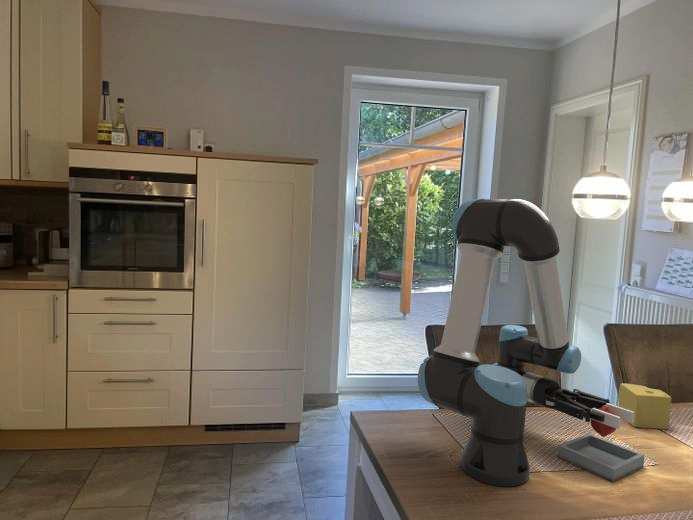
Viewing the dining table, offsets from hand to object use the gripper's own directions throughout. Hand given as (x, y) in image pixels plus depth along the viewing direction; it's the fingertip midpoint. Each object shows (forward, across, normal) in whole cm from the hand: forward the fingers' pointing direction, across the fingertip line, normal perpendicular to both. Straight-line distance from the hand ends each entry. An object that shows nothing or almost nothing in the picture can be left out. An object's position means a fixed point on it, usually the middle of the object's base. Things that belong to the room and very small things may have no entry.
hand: (626, 420), depth 119 cm
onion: (-5, 0, -6) cm, 8 cm away
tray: (-5, +1, -12) cm, 13 cm away
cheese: (-12, -36, -13) cm, 41 cm away
